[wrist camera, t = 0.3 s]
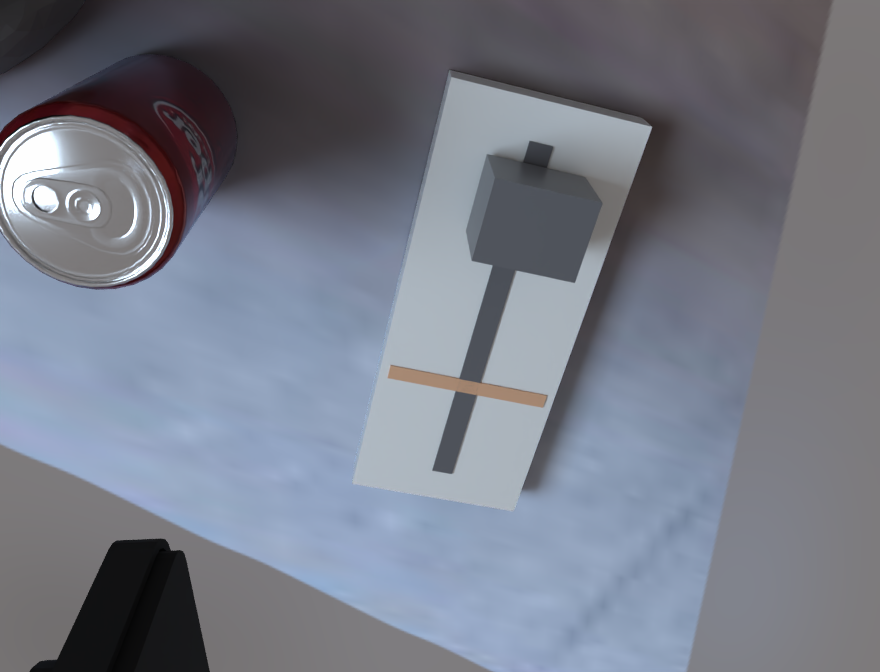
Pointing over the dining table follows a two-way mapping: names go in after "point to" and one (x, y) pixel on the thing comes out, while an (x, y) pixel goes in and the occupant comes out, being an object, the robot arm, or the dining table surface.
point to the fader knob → (531, 219)
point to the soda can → (114, 171)
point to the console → (486, 301)
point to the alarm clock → (31, 26)
